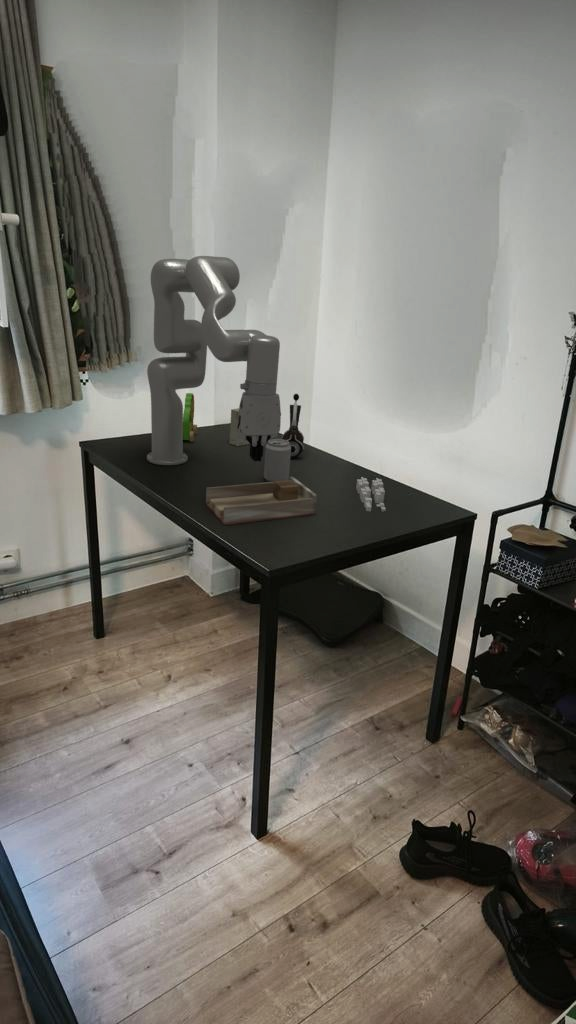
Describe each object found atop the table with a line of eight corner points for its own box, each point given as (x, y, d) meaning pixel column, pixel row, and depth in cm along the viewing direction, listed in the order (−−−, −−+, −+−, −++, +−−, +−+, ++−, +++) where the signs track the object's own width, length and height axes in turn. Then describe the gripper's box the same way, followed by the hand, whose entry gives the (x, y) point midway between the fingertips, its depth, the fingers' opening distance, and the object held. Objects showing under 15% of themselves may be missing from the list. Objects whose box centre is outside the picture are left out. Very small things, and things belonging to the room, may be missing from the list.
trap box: (205, 503, 167) (206, 484, 165) (291, 495, 177) (292, 476, 175) (224, 525, 155) (225, 504, 152) (315, 514, 165) (316, 494, 163)
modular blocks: (356, 489, 186) (357, 476, 185) (379, 490, 186) (380, 477, 185) (366, 515, 168) (367, 501, 166) (391, 516, 168) (393, 502, 167)
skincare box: (237, 446, 217) (238, 411, 212) (228, 443, 220) (230, 409, 215) (251, 443, 222) (252, 409, 217) (242, 441, 224) (244, 407, 220)
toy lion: (193, 443, 217) (194, 399, 212) (177, 442, 217) (177, 398, 211) (198, 431, 232) (199, 390, 226) (183, 430, 232) (183, 389, 226)
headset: (281, 446, 222) (285, 390, 214) (303, 447, 222) (307, 392, 214) (279, 460, 206) (283, 400, 199) (302, 462, 206) (307, 402, 199)
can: (258, 479, 188) (260, 440, 183) (276, 474, 193) (278, 436, 188) (276, 486, 183) (278, 446, 178) (293, 481, 188) (296, 442, 184)
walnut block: (272, 495, 169) (273, 481, 167) (289, 493, 171) (290, 479, 169) (280, 502, 164) (281, 487, 163) (297, 500, 166) (298, 486, 165)
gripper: (237, 392, 147) (233, 466, 154) (295, 391, 153) (288, 462, 161) (226, 384, 153) (223, 456, 160) (282, 384, 159) (276, 453, 167)
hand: (255, 459), depth 161 cm, fingers closed
